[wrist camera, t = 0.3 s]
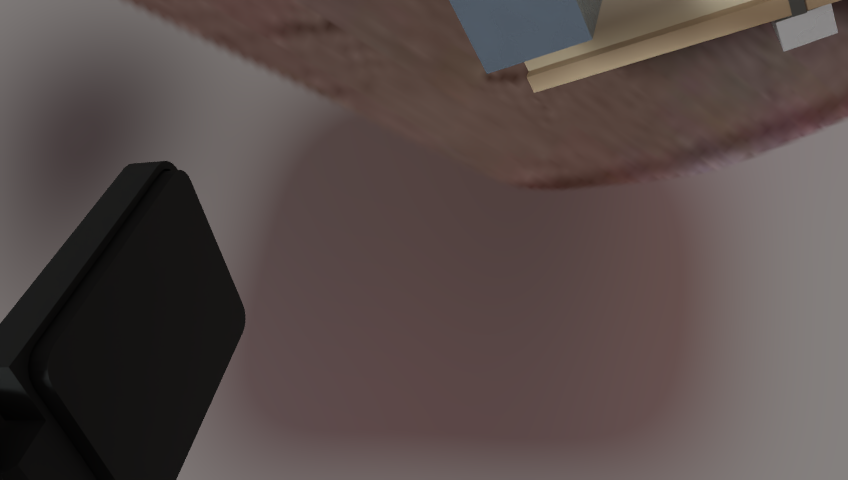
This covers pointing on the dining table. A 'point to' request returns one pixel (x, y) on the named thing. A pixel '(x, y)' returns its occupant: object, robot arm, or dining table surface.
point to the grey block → (524, 27)
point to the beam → (655, 33)
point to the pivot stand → (805, 27)
